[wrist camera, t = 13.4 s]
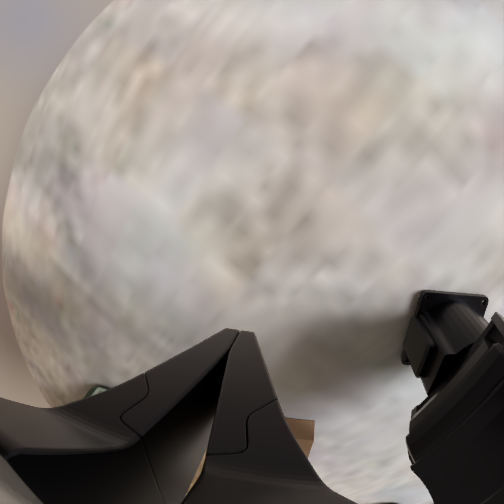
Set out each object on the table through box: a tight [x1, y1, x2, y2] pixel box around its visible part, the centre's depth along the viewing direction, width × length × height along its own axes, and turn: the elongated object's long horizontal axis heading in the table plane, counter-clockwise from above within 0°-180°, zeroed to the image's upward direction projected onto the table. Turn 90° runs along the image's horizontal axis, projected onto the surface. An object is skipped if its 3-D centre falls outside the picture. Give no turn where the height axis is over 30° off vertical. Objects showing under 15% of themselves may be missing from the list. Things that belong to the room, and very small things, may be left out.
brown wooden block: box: [285, 418, 315, 458], centre depth 26 cm, size 3×6×8 cm
